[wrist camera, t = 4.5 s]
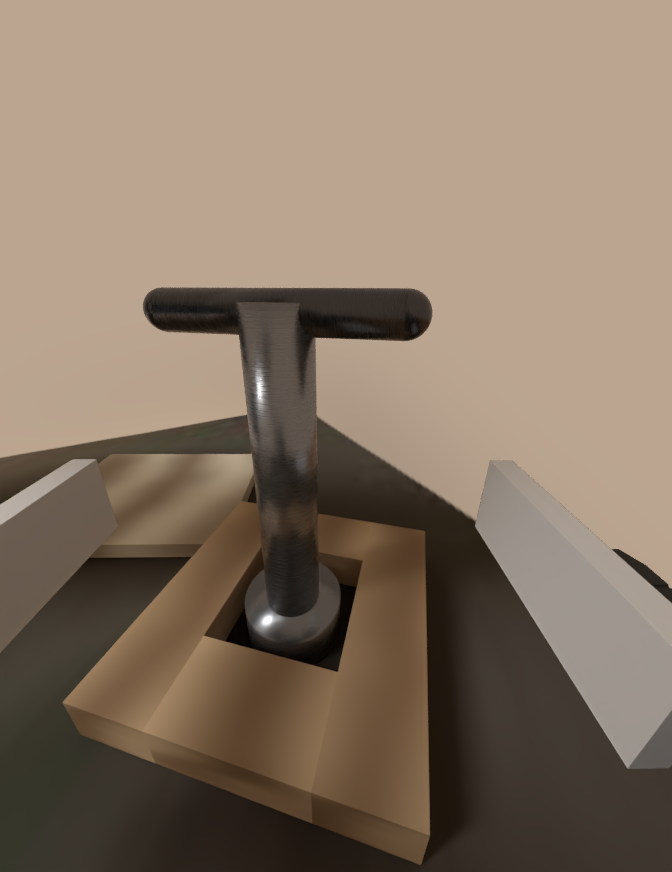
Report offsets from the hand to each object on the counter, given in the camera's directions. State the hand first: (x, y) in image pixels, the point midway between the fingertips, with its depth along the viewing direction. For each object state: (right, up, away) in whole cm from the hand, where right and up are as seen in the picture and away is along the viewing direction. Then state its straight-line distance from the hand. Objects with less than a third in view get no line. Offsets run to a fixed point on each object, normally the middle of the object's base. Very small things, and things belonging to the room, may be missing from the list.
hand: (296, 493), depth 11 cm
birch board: (-13, -3, +14) cm, 19 cm away
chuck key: (-1, -7, +5) cm, 9 cm away
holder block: (-1, -7, +5) cm, 9 cm away
